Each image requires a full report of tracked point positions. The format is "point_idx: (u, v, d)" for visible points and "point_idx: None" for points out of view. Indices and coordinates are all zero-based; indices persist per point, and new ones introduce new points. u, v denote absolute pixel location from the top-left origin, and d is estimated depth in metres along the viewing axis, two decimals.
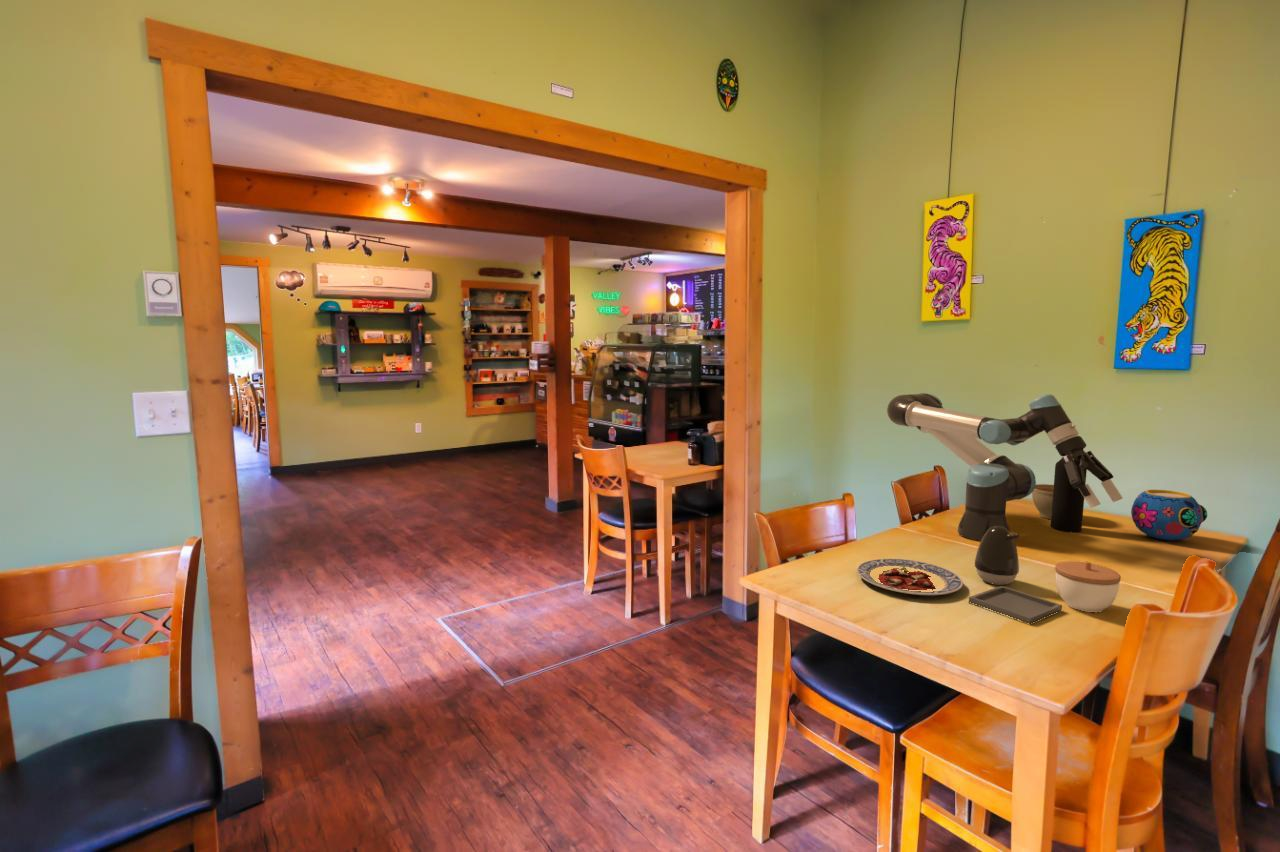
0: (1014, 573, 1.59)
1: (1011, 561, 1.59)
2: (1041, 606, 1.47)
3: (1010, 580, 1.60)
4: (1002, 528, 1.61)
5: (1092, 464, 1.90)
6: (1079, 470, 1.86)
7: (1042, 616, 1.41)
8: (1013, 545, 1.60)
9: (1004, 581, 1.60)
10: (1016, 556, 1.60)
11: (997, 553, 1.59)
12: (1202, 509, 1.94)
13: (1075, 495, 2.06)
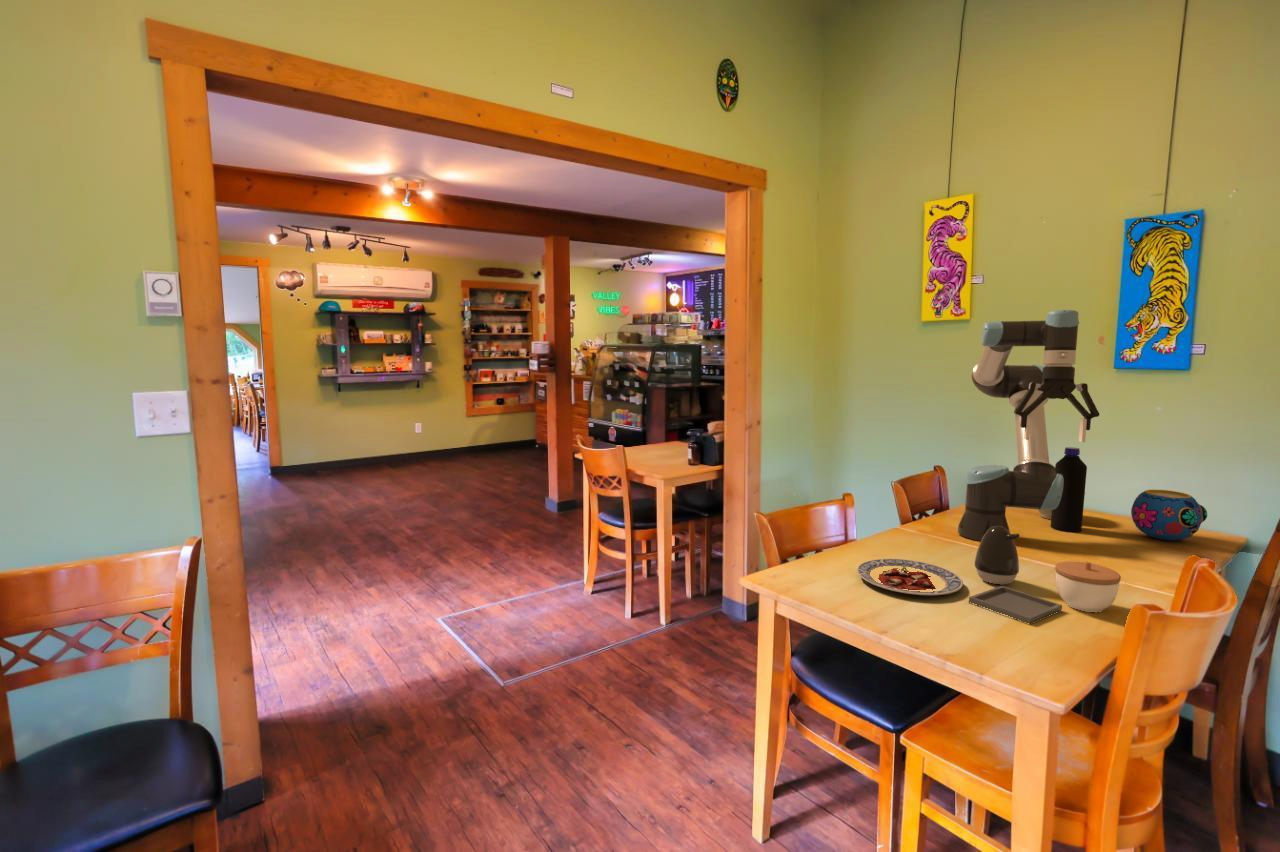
0: (1014, 573, 1.59)
1: (1011, 561, 1.59)
2: (1041, 606, 1.47)
3: (1010, 580, 1.60)
4: (1002, 528, 1.61)
5: (1069, 398, 1.73)
6: (1035, 401, 1.76)
7: (1042, 616, 1.41)
8: (1013, 545, 1.60)
9: (1004, 581, 1.60)
10: (1016, 556, 1.60)
11: (997, 553, 1.60)
12: (1202, 509, 1.94)
13: (1075, 495, 2.06)
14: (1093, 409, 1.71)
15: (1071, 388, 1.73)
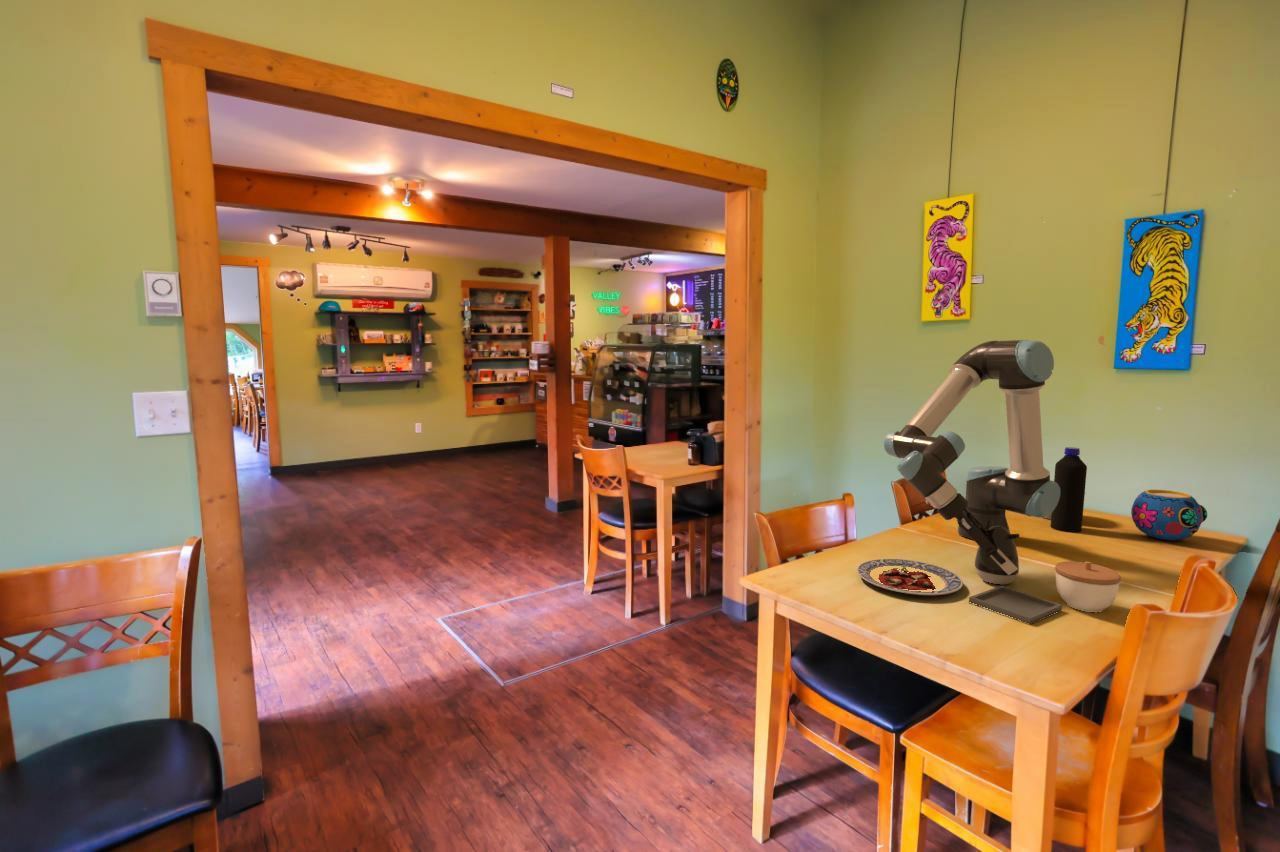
0: (1014, 573, 1.59)
1: (1011, 561, 1.59)
2: (1041, 606, 1.47)
3: (1010, 580, 1.60)
4: (1002, 528, 1.61)
5: None
6: None
7: (1042, 616, 1.41)
8: (1013, 545, 1.60)
9: (1004, 581, 1.60)
10: (1016, 556, 1.60)
11: None
12: (1202, 509, 1.94)
13: (1075, 495, 2.06)
14: (982, 548, 1.58)
15: None
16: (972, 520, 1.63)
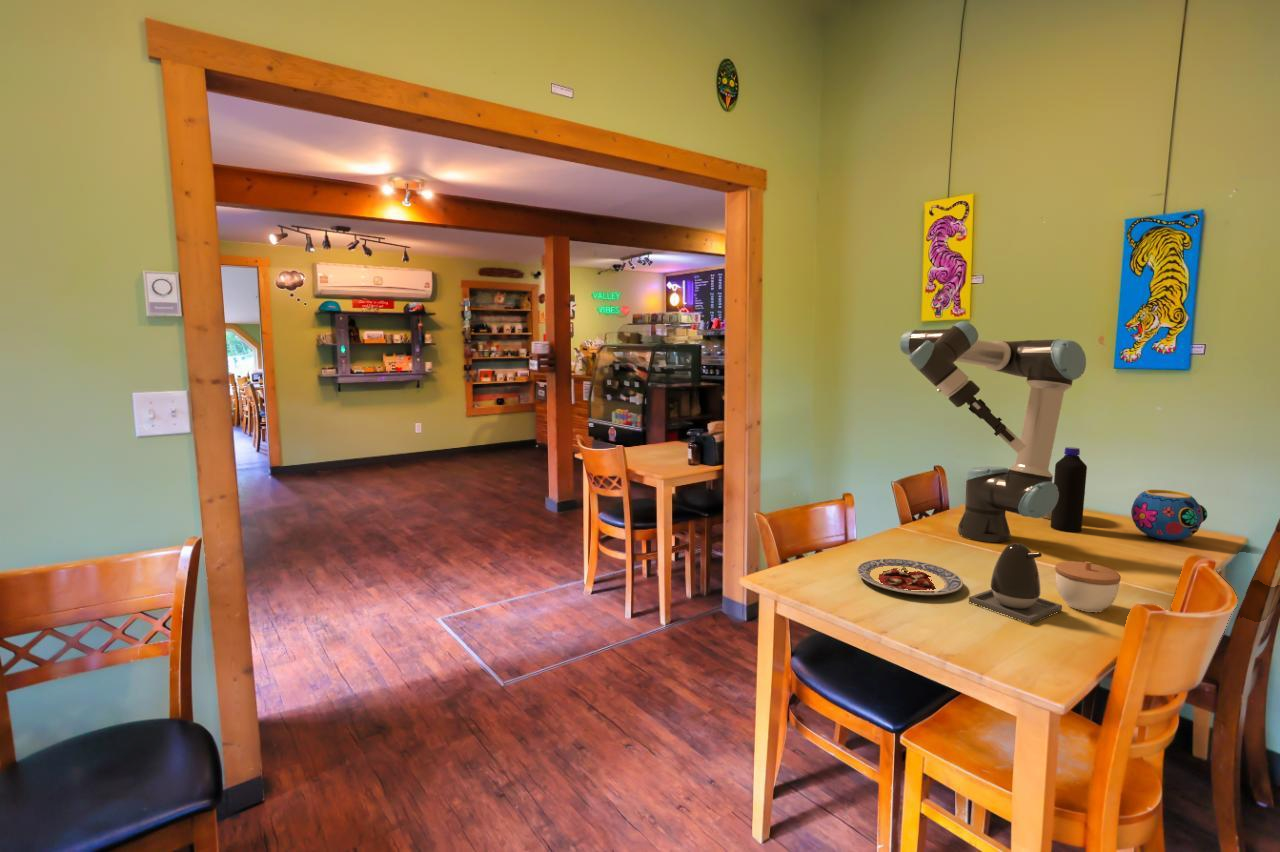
0: (1035, 596, 1.43)
1: (1032, 583, 1.43)
2: (1041, 606, 1.47)
3: (1031, 604, 1.44)
4: (1022, 546, 1.45)
5: None
6: None
7: (1042, 616, 1.41)
8: (1034, 565, 1.44)
9: (1024, 605, 1.44)
10: (1037, 577, 1.44)
11: (1017, 574, 1.43)
12: (1202, 509, 1.94)
13: (1075, 495, 2.06)
14: None
15: (973, 408, 1.66)
16: (983, 404, 1.65)
